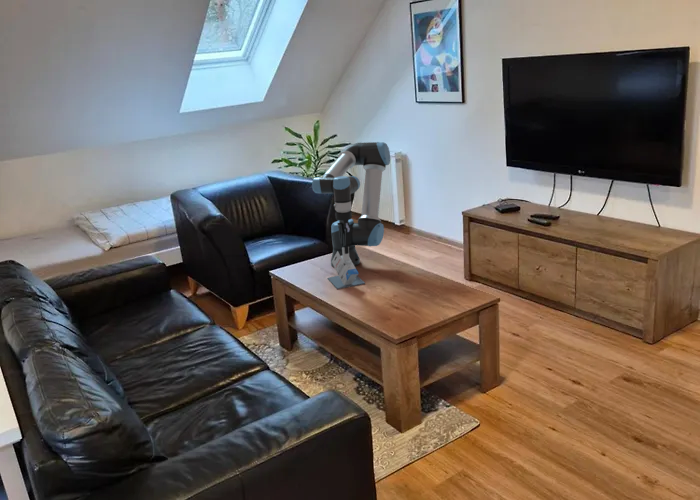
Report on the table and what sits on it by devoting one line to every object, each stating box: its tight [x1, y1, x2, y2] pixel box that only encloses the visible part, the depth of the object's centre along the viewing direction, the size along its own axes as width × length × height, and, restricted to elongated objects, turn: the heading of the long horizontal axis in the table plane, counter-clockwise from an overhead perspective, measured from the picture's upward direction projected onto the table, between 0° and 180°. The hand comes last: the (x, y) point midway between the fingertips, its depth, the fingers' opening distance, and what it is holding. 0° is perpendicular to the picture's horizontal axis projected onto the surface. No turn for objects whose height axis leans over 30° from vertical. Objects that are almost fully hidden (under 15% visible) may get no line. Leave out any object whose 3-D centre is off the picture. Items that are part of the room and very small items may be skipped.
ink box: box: [332, 251, 359, 285], centre depth 301 cm, size 8×5×15 cm
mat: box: [326, 275, 366, 290], centre depth 308 cm, size 16×14×1 cm
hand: (346, 259), depth 298 cm, fingers closed
